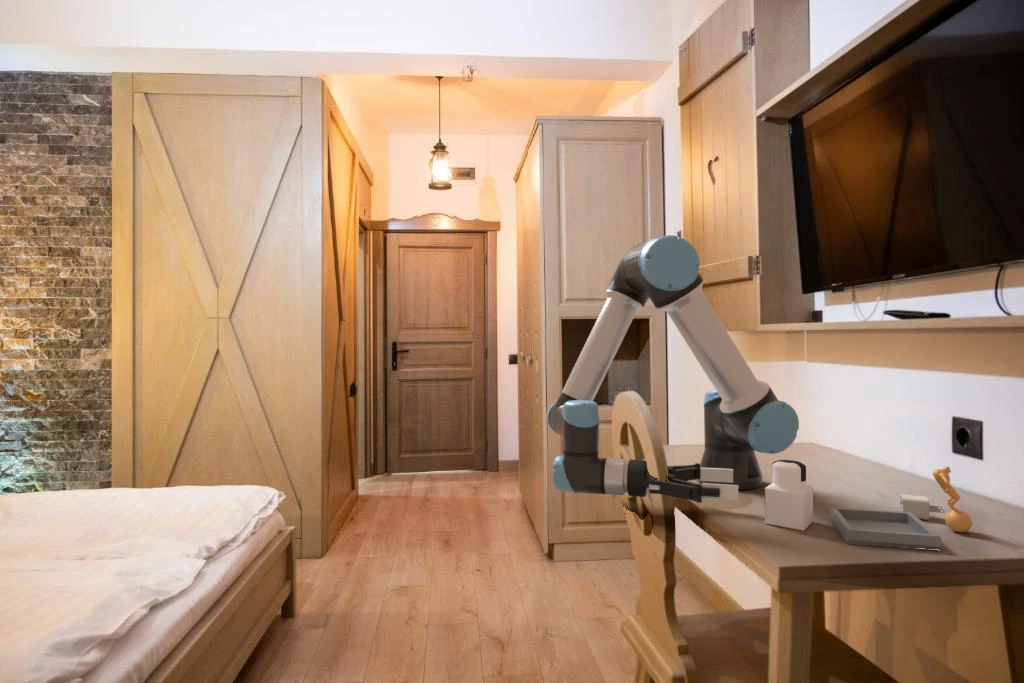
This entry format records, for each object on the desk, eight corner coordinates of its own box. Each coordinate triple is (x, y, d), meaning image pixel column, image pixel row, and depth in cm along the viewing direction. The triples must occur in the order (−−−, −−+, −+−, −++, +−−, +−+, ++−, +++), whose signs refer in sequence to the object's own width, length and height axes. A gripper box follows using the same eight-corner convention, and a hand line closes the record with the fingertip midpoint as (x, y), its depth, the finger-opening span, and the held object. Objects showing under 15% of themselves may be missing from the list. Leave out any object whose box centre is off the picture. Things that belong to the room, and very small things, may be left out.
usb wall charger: (900, 512, 123) (900, 493, 123) (940, 517, 120) (940, 497, 120) (903, 518, 119) (903, 498, 119) (945, 522, 116) (945, 502, 116)
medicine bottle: (775, 515, 122) (775, 456, 122) (813, 521, 118) (813, 460, 118) (764, 524, 117) (764, 462, 117) (804, 531, 112) (803, 467, 112)
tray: (829, 519, 119) (829, 507, 119) (911, 525, 115) (911, 512, 115) (848, 544, 105) (848, 529, 105) (940, 551, 102) (940, 536, 101)
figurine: (980, 540, 106) (981, 472, 106) (941, 537, 108) (941, 470, 108) (962, 525, 114) (962, 462, 114) (925, 523, 116) (925, 461, 116)
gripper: (632, 480, 138) (731, 486, 132) (621, 512, 114) (740, 521, 108) (632, 448, 138) (731, 452, 132) (621, 473, 114) (740, 480, 108)
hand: (735, 483), depth 120 cm, fingers open, 13 cm apart
